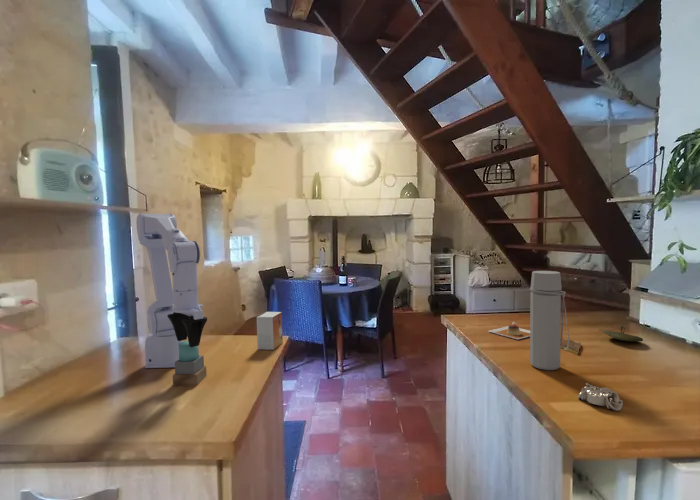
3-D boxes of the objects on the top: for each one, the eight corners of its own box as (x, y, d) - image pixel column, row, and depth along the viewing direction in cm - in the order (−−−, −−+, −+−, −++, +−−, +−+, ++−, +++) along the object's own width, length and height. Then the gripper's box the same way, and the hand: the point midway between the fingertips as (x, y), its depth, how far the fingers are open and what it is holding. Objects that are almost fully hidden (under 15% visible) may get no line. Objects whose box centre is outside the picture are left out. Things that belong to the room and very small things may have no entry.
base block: (173, 387, 94) (172, 375, 94) (183, 377, 100) (183, 366, 100) (197, 386, 94) (197, 374, 94) (206, 377, 100) (206, 365, 100)
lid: (597, 341, 121) (597, 325, 121) (608, 335, 127) (608, 320, 127) (637, 349, 113) (637, 332, 112) (647, 342, 119) (648, 326, 118)
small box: (273, 350, 120) (272, 317, 119) (257, 349, 121) (255, 316, 120) (283, 342, 127) (282, 311, 127) (267, 342, 128) (266, 311, 128)
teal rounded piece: (176, 362, 94) (175, 346, 94) (184, 355, 99) (183, 340, 99) (194, 361, 94) (193, 345, 94) (201, 355, 99) (201, 340, 99)
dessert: (517, 342, 124) (517, 327, 123) (487, 333, 134) (487, 320, 134) (540, 336, 130) (540, 322, 129) (509, 328, 140) (509, 315, 140)
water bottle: (531, 370, 98) (531, 273, 97) (528, 360, 106) (528, 270, 104) (571, 374, 95) (572, 274, 94) (566, 363, 102) (566, 270, 101)
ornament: (629, 406, 78) (630, 389, 78) (614, 416, 75) (614, 397, 74) (588, 393, 85) (588, 377, 85) (571, 401, 81) (572, 384, 81)
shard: (578, 357, 109) (578, 350, 109) (548, 352, 113) (548, 346, 113) (581, 346, 117) (581, 341, 117) (553, 342, 122) (553, 337, 122)
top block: (175, 374, 94) (174, 362, 94) (185, 366, 99) (185, 355, 99) (194, 374, 94) (194, 362, 94) (204, 366, 99) (203, 355, 99)
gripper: (214, 290, 93) (216, 345, 94) (189, 285, 104) (191, 334, 104) (185, 294, 88) (187, 352, 89) (162, 288, 99) (164, 340, 99)
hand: (188, 343), depth 96 cm, fingers open, 7 cm apart
